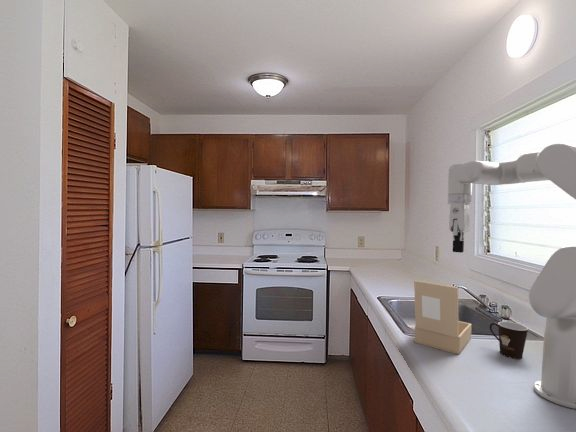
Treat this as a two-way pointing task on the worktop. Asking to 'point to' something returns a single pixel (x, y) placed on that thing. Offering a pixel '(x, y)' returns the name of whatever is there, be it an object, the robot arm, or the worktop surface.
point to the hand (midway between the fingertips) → (458, 251)
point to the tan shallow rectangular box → (445, 338)
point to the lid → (436, 307)
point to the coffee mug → (511, 338)
